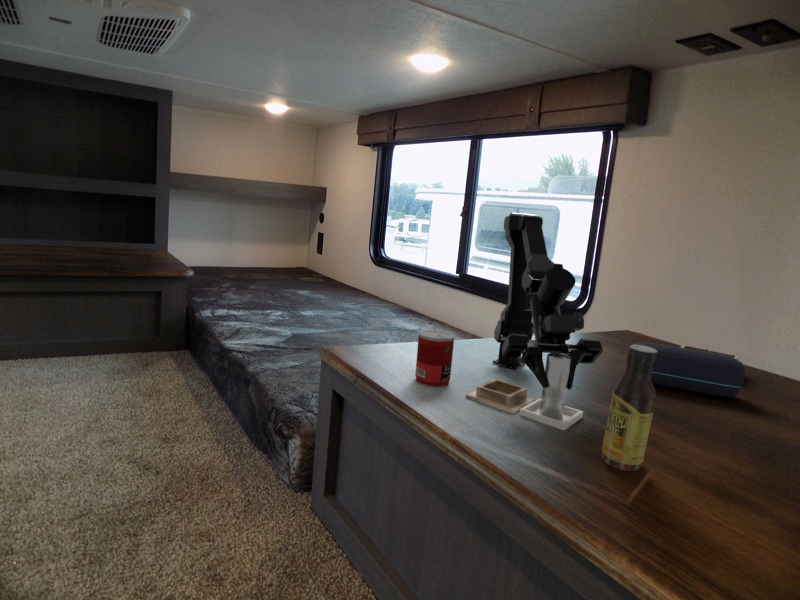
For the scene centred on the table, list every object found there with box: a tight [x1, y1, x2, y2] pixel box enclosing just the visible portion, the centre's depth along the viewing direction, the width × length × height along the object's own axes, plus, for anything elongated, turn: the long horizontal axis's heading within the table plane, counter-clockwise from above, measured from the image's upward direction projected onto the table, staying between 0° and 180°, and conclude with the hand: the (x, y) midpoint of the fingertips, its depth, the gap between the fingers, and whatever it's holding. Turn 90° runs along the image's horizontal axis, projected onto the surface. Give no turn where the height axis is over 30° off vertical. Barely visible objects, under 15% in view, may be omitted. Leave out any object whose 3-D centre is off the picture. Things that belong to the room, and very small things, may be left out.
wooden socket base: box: [465, 378, 537, 415], centre depth 106 cm, size 10×11×3 cm
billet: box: [539, 353, 571, 420], centre depth 98 cm, size 4×4×12 cm
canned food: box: [415, 329, 455, 387], centre depth 115 cm, size 8×8×11 cm
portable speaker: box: [626, 341, 746, 398], centre depth 124 cm, size 25×10×10 cm, turn 65°
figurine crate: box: [680, 344, 740, 360], centre depth 141 cm, size 11×14×5 cm
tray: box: [518, 397, 584, 431], centre depth 99 cm, size 9×9×2 cm
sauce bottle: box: [601, 344, 658, 472], centre depth 80 cm, size 6×6×20 cm
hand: (557, 388), depth 96 cm, fingers closed on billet, 4 cm apart
